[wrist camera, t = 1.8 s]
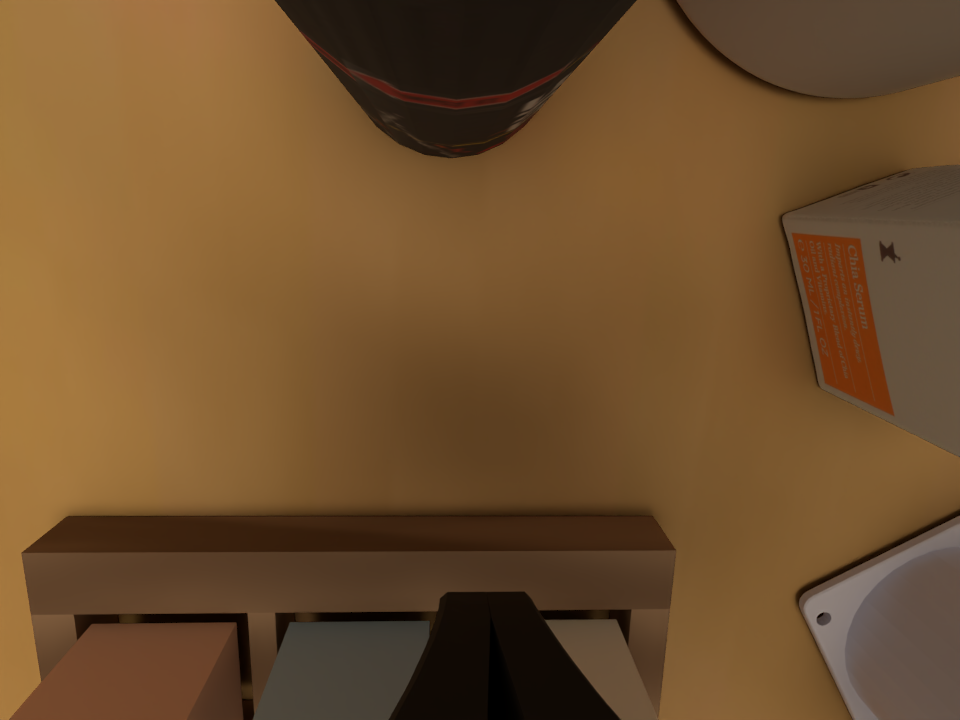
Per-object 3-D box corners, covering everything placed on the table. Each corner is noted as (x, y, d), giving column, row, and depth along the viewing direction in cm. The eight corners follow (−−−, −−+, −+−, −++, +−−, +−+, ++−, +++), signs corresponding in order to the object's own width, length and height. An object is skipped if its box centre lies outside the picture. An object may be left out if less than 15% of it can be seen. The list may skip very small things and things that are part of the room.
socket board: (631, 740, 23) (650, 794, 21) (98, 751, 22) (61, 809, 20) (653, 516, 21) (676, 550, 19) (66, 516, 20) (21, 553, 18)
